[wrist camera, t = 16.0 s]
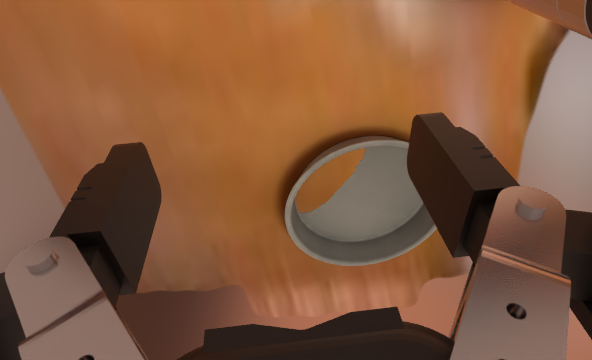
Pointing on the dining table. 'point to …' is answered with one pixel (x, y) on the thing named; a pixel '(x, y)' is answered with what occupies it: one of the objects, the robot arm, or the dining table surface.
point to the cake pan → (363, 208)
